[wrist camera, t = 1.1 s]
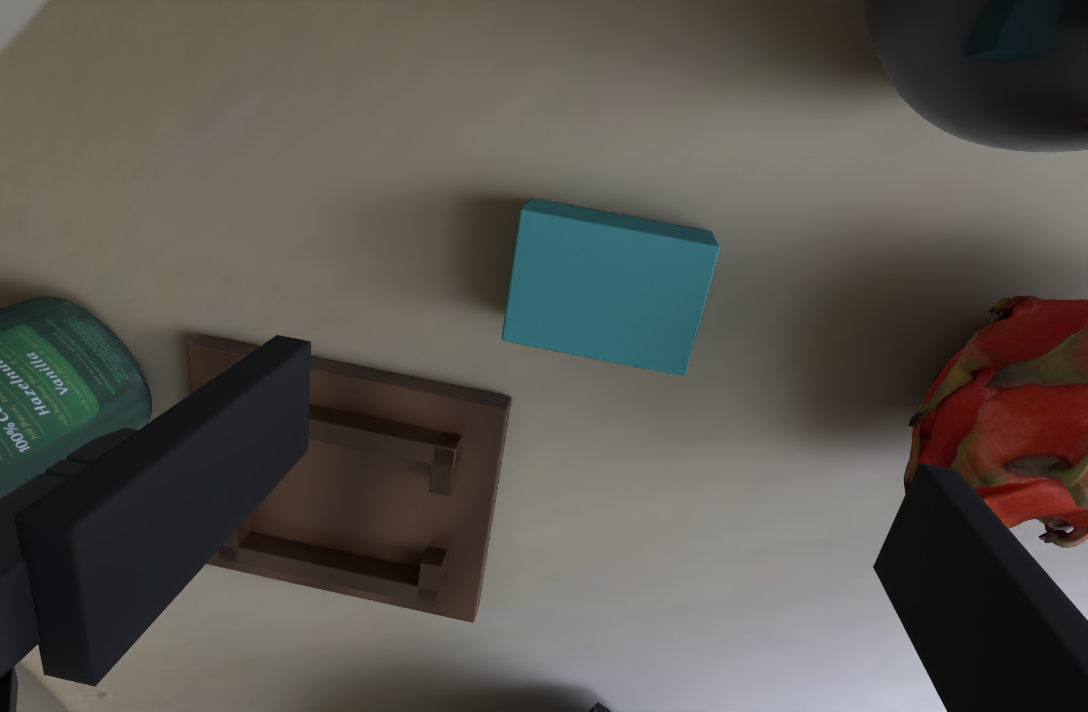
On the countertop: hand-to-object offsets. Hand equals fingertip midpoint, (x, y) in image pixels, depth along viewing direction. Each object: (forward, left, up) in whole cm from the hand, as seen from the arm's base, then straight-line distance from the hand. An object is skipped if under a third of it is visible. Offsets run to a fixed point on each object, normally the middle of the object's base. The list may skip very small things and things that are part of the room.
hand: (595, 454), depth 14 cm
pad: (0, 0, -13) cm, 13 cm away
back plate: (+12, -10, -13) cm, 20 cm away
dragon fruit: (+1, +16, -13) cm, 20 cm away
